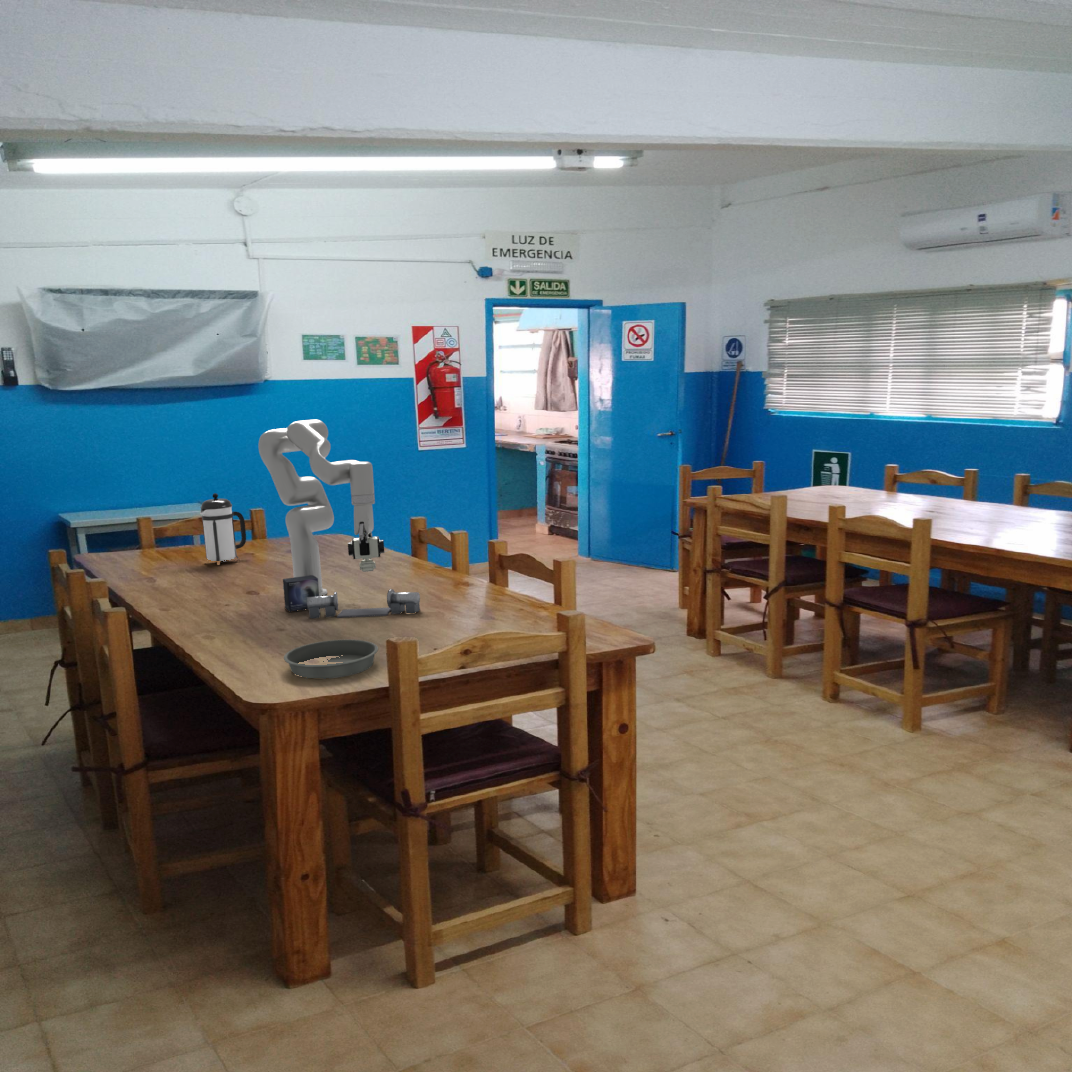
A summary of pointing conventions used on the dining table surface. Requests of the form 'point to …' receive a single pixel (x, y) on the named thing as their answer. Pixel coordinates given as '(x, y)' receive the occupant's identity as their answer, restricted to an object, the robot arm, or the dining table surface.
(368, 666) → the cake pan
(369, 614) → the pad
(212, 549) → the coffee press
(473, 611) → the dining table surface
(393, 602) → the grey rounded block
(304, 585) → the small box
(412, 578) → the dining table surface
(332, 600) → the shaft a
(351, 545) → the pneumatic valve
